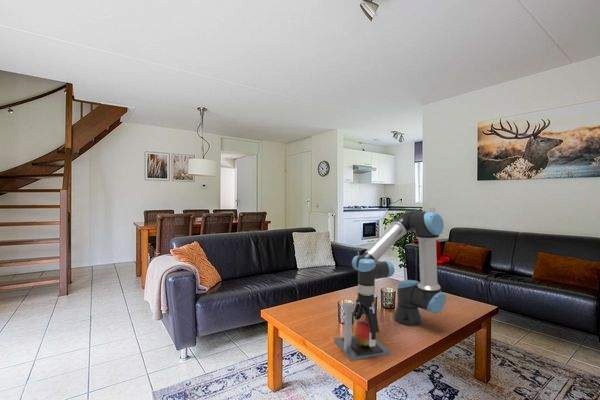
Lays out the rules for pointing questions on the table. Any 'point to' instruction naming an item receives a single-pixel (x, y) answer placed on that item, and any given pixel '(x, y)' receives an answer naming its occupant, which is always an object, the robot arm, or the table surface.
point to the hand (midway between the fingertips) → (364, 339)
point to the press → (352, 344)
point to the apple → (363, 333)
